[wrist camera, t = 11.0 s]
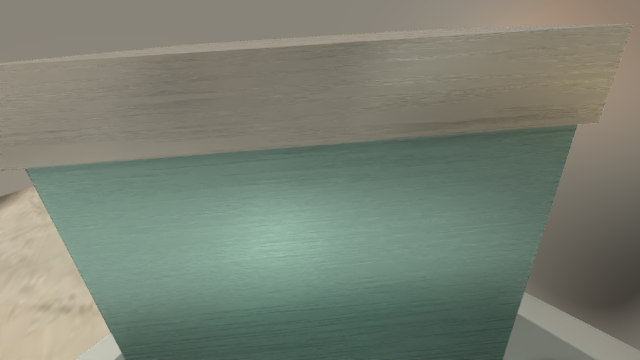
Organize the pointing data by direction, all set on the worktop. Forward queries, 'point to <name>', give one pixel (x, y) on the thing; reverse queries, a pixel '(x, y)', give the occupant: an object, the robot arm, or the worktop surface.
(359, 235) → the tea tin
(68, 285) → the worktop surface
